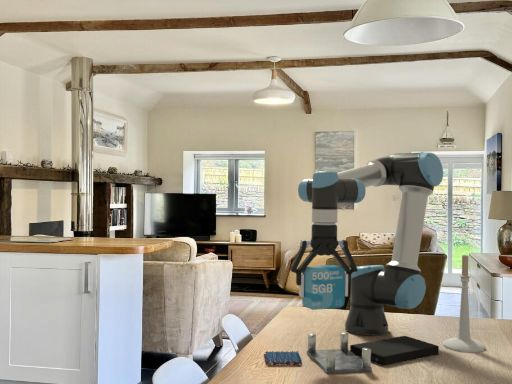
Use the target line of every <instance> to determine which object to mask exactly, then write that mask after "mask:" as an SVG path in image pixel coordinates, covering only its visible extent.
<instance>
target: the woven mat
mask: <svg viewBox="0 0 512 384" xmlns="http://www.w3.org/2000/svg"><path fill="white" fill-rule="evenodd" d="M263 358H264V362H265V364H266V367H269V366H271V367H277V366H279V367H281V366H282V367H285V366H286V367H289V366H290V367H297V365H298V366H299V367H301V366H302V364H303V362H302V361H303V359H302V357H301V355H300V353H299V350H298V351H297V350H296V351H293V350H292V351H288V350H286V351H283V350H281V351H279V350H277V351H265V352H264V354H263Z"/></svg>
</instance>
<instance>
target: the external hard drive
mask: <svg viewBox="0 0 512 384" xmlns="http://www.w3.org/2000/svg"><path fill="white" fill-rule="evenodd" d="M362 348H370V349H371V363H374V364H377V365H379V366H382V367H384V366H390V365H394V364H399V363H405V362H409V361H410V362H411V361H414V360H419V358H420V359H424V358H428V357H435V356H439V352H440V351H439V350H440V347H439V345H437V344H434V343H431V342H430V343H429V342H427V341H424V340H421V339H416V338H414V337H411V336H407V335H401V336H396V337H395V336H394V337H390V338H385V339H384V338H383V339H378V340H371V341H366V342H361V343H355V344H351V345H349V350H350V351H351V352H352V353H353V354H355V355H356V356H357V357H359V358H360V359H362Z"/></svg>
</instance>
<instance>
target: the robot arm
mask: <svg viewBox="0 0 512 384" xmlns="http://www.w3.org/2000/svg"><path fill="white" fill-rule="evenodd" d="M440 159H441V158H439V157H438V155H436V154H435V153H434V152H427V151H426V152H425V151H420V152H402V153H401V152H398V153H397V152H396V153H393V154H389V155H385V156H382V157H380V158H379V157H378V158H376V159H372V160H369V161H368V162H367V163H366V164H364V165H362V166H361V165H360V166H356V167H354V168H350V169H347V170H343V171H339V172H336V171H325V170H324V171H315V172H313V174H312V178H307V179H303V180H301V182H299V184H298V187H297V191H298V192H297V193H298V197H299V199H301V200H302V201H303V202H308V203H310V204H311V223H313V224H312V225H311V237H310V238H311V239H310V240H305V239H301V241H300V243H299V245H300V246H299V248H298V251H297V253H296V256H295V257H294V259H293V262H292V263H291V266H290V267H289V271H291V273H294V274H295V284H296V285H297V286H299V287H298V288H299V289H298V296H299V297H301V298H302V297H304V274H302V272H303V271H304V270H305V269H306V267H309V265H310V263H311V262H312V261H313V260H314V258H316V257H317V256H320V257H322V256H331V255H332V256H333V258H334V259H335V260H336V262H337V263H338V264H339V265H340V267H342V268H343V269H344V270H345V297H349V296H350V306H349V307H350V308H349V311H348V313H347V315H346V320H345V323H344V329H345V331H347V333H351V334H355V335H360V336H361V335H363V336H380V335H381V336H382V335H385V334H387V333H389V324H388V320H387V316H386V314H385V310H384V305H385V306H391V307H395V308H398V309H407V310H412V309H415V308H416V307H418V306H419V305H420V304H421V302H423V299H424V297H425V294H426V289H427V285H426V280H425V278H424V277H423V276H422V275H421V273H422V272H421V271H422V270H421V269H420V267H419V266H418V262H419V255H420V249H421V242H422V235H423V230H424V224H425V223H424V222H425V218H426V217H425V216H426V211H427V204H428V198H429V197H430V195H433V193H434V189H435V187H437V186H440V184H441V183H442V182H443V179H444V178H443V177H444V169H443V165H442V164H443V163H441V160H440ZM371 186H372V187H381V186H398V189H399V190H400V192H401V199H400V207H399V212H398V213H399V214H398V219H397V226H396V232H395V237H394V243H393V244H394V245H393V248H392V249H393V250H392V256H391V261H389V262H388V263H386V265H385V266H384V265H382V264H378V265H377V264H375V265H374V264H372V265H371V264H370V265H360V266H357V265H356V263H355V260H354V259H353V256H352V253H351V251H350V250H349V244H348V243H349V242H348V240H345V239H342V240H338V225H337V223H338V205H339V204H349V205H350V204H352V205H354V204H358V203H359V204H360V202H362V201H363V200H364V199H365V197H366V190H367V189H366V188H369V187H371ZM309 246H310V247H311V248H312V250H310V252H309V254H308V255H307V256H306V257H305V259H303V256H304V255H305V252H306V251H307V250H306V249H308V248H309ZM338 246H339V247H340V248H341V250H342V252H343V254H344V256H345V259H346V261H347V263H346V261H344V259H343V258H342V256H341V255H340V253H339V252H338V251H337V248H338ZM302 259H303V261H302ZM301 261H302V262H301ZM347 264H348V265H347ZM349 286H350V293H349ZM349 294H350V295H349Z"/></svg>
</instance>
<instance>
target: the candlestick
mask: <svg viewBox="0 0 512 384" xmlns="http://www.w3.org/2000/svg"><path fill="white" fill-rule="evenodd" d="M469 258H470V257H469V255H467V254H462V255H461V275H459V277H460V282H461V284H462V286H461V287H460V288H461V294H460V306H459V307H460V309H459V321H458V334H457V336H455V337H451V338H447V339H445V340H444V341H443V344H442V346H443V347H444V348H445V349H448V350H450V351H454V352H460V353H472V354H473V353H481V352H485V350H486V346H485V345H484V344H483V343H482V342H481V341H479V340H477V339H473V338H471V331H470V328H471V327H470V326H471V325H470V303H469V301H470V300H469V298H470V297H469V287H468V284H469V282H470V278H471V277H472V276H471V275H469V267H470V266H469V265H470V264H469V262H470V261H469Z"/></svg>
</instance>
